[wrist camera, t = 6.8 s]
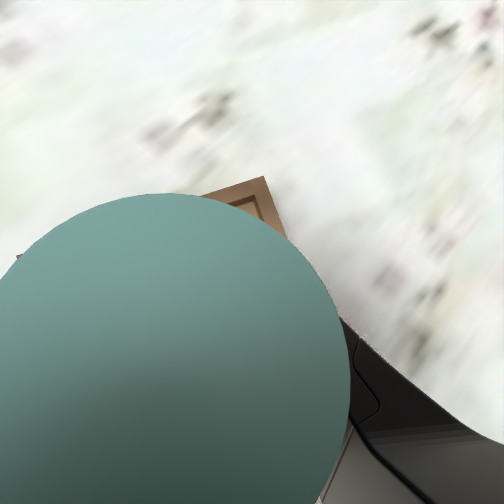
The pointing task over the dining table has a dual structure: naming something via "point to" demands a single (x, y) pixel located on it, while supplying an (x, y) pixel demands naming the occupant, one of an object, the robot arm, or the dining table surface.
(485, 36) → the dining table surface
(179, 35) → the dining table surface
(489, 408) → the dining table surface
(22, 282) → the peg
